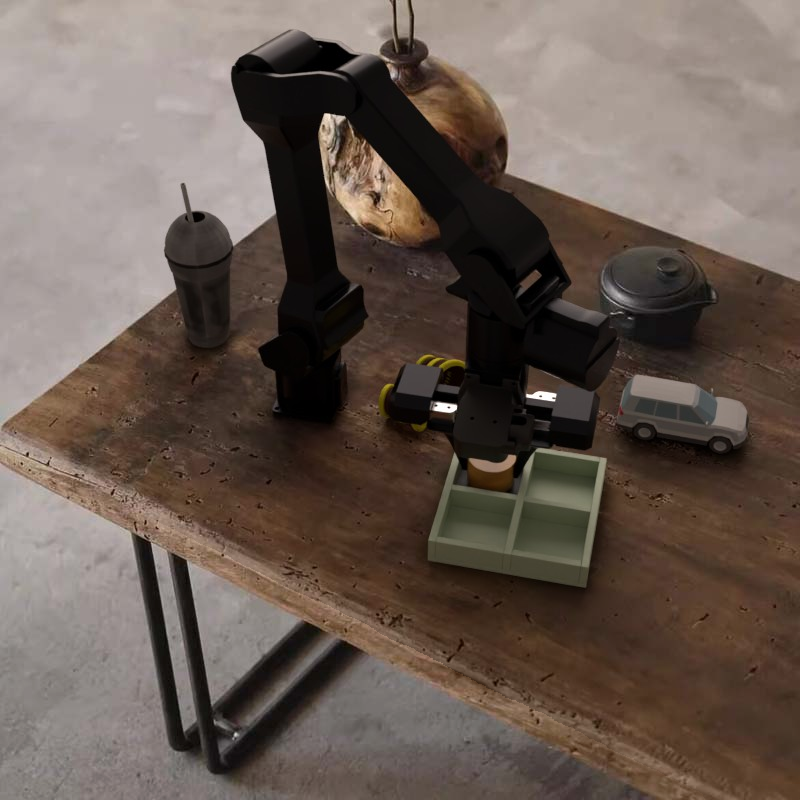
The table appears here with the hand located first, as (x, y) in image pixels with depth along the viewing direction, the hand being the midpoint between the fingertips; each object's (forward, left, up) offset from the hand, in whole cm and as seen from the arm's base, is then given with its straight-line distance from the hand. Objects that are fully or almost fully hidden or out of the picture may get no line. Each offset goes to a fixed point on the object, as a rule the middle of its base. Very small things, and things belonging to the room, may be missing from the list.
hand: (490, 471), depth 126 cm
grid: (+3, -4, -2) cm, 5 cm away
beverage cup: (-35, +16, -2) cm, 38 cm away
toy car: (+17, +12, -2) cm, 22 cm away
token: (0, 0, -1) cm, 1 cm away
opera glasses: (-9, +10, -2) cm, 14 cm away
